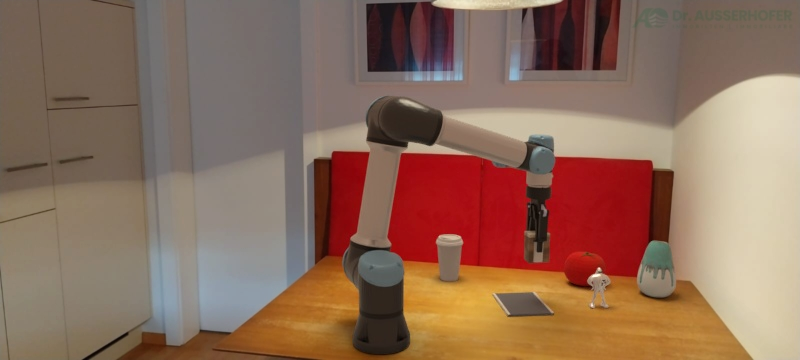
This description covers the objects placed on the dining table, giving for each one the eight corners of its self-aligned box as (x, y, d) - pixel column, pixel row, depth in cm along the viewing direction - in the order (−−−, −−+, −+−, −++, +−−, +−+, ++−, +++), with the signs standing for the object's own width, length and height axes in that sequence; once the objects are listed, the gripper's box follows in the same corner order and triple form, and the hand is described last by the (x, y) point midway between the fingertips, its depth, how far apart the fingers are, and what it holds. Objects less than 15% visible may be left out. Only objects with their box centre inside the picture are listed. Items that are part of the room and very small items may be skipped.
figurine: (588, 308, 179) (590, 270, 177) (583, 303, 183) (585, 266, 181) (611, 308, 179) (613, 270, 178) (606, 303, 184) (608, 265, 182)
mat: (554, 314, 174) (554, 312, 174) (507, 316, 173) (507, 314, 172) (534, 293, 192) (534, 291, 191) (492, 295, 190) (492, 293, 190)
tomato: (560, 277, 208) (561, 246, 206) (600, 278, 207) (602, 247, 205) (566, 289, 196) (568, 256, 194) (609, 290, 195) (611, 257, 193)
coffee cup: (430, 276, 209) (430, 235, 207) (453, 272, 213) (453, 232, 211) (444, 284, 201) (445, 241, 198) (468, 280, 205) (468, 238, 203)
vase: (650, 286, 199) (654, 234, 196) (682, 296, 190) (686, 242, 187) (628, 292, 193) (632, 239, 190) (660, 303, 183) (664, 247, 181)
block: (549, 262, 181) (550, 233, 180) (528, 263, 181) (529, 234, 179) (544, 258, 186) (544, 230, 184) (523, 259, 185) (524, 231, 184)
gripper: (561, 190, 171) (557, 267, 175) (540, 181, 189) (536, 251, 192) (536, 190, 170) (532, 268, 174) (518, 181, 188) (514, 252, 191)
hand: (534, 259), depth 183 cm, fingers closed on block, 4 cm apart
